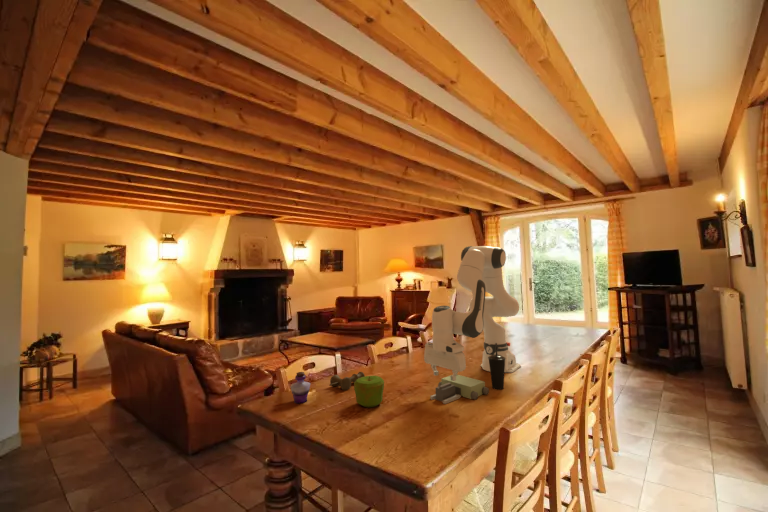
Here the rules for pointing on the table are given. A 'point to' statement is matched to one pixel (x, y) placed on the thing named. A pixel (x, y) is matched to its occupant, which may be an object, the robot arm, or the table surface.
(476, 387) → the green block with prongs
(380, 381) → the apple
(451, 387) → the dark grey block
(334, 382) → the kendama
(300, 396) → the potion bottle
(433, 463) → the table surface
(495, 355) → the drinking cup
